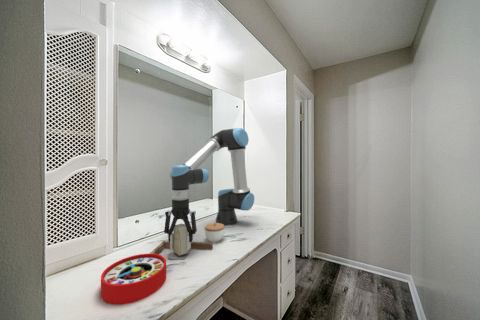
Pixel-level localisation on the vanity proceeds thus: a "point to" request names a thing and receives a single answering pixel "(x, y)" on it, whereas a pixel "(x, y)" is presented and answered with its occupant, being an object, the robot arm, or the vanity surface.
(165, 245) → the walnut l-shaped corner bracket
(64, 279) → the vanity surface
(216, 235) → the lidded jar
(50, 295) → the vanity surface
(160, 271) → the toy clock
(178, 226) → the skincare box
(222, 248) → the vanity surface
